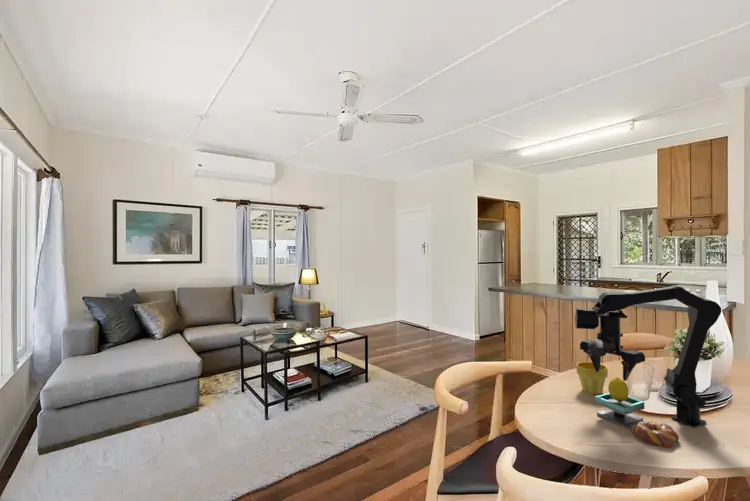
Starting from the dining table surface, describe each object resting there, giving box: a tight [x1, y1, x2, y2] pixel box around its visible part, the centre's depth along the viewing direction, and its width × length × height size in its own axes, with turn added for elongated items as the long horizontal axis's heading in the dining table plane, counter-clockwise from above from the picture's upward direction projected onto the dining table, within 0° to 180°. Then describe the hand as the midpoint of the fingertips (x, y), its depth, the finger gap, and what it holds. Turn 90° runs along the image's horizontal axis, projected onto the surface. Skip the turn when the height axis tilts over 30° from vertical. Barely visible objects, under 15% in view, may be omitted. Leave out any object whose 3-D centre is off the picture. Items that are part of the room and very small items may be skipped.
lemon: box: [607, 377, 630, 403], centre depth 119 cm, size 6×6×8 cm
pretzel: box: [631, 421, 680, 448], centre depth 107 cm, size 12×11×4 cm
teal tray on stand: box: [594, 392, 645, 428], centre depth 118 cm, size 10×10×6 cm
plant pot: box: [575, 361, 609, 395], centre depth 140 cm, size 10×10×10 cm
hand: (610, 376), depth 123 cm, fingers open, 9 cm apart
